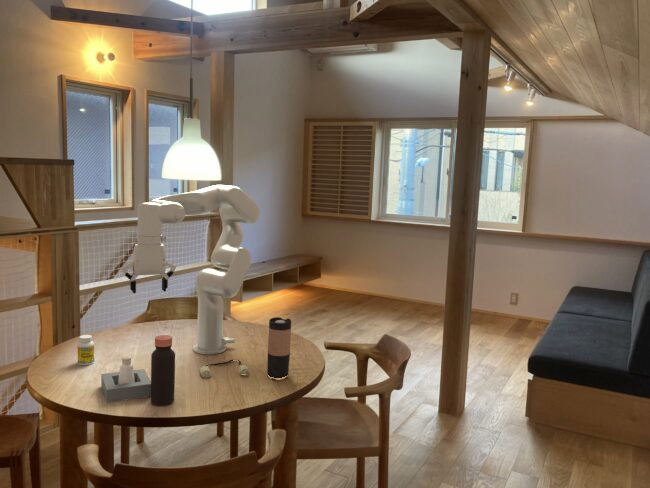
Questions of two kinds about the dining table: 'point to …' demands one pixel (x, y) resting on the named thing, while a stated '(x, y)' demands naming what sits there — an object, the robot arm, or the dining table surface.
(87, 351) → the supplement bottle
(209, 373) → the cable
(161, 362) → the dark brown water bottle
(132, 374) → the pepper shaker
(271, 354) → the travel mug
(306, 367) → the dining table surface
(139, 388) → the frame
